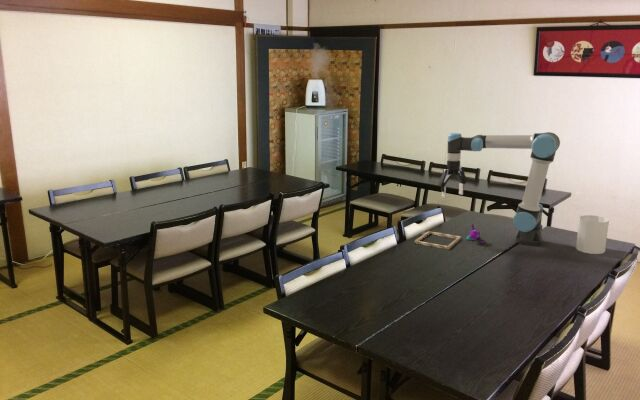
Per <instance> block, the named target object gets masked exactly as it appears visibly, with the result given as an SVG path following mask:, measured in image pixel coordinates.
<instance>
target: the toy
mask: <svg viewBox="0 0 640 400" xmlns="http://www.w3.org/2000/svg"><path fill="white" fill-rule="evenodd" d="M474 225H475V223H472V224H470V226H471V231H470V233H469V235H467V237H466V238H465V240H466V241H471V240H473V239H474V240H476V239H477V240H478V241H479V242H480V244H482V243H484V242H485V241H484V240H482V239H481V232H480V231H479V230H477V229H475V226H474Z"/></svg>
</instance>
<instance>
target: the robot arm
mask: <svg viewBox="0 0 640 400" xmlns="http://www.w3.org/2000/svg"><path fill="white" fill-rule="evenodd" d="M560 144H561V140H560V137H559V136H558V135H557V134H556V133H554V132H549V131H547V132H540V133H539V132H538V133H537V132H535V133H533V134H532V135H531V134H529V135H527V134H524V135H523V134H518V135H517V134H514V135H512V134H511V135H510V134H509V135H507V134H506V135H505V134H502V135H501V134H500V135H499V134H497V135H494V134H493V135H492V134H490V135H485V134H484V135H483V134H477V135H475V136H472V137H466V136H465V137H464V136H462V134H461V133H459V132H452V133H449V134H448V135H447V151H446V153H447V157H446V158H447V160H446V167H447V169H446V168H443V170H442V174H441V176H440V179H439V181H438V183H437V184H438V186H440V192H441V195H440V196H441V198H447V197H446V192H447V186H446V185H447V183H448V181H449V180H450V179H451V178H452V177H456V178H457V179H458V181H459V183H458V194H459V195H461V196H463V195H464V189H465V184H467V182H468V180H467V177H466V174H465V172H464V171H465V170H464V167H462V166H461V153H462V152H461V151H468V152H481V151H482V150H483V149H511V150H513V149H515V150H516V149H519V150H520V149H521V150H523V149H524V150H525V149H526V150H531V153H530V159H531V160H532V162H531V166H530V169H529V172H528V177H527V181H526V185H525V188H524V194H523V197H522V201H521V202H520V203H518V205H517V208H516V212H515V214H514V216H513V220H512V223H513V226H514V227H515V229H517V231H516V234H515V236H514V241H515V242H516V243H518V244H521V245H526V246H540V245H542V244H543V239H544V238H543V236H542V221H543V219H542V218H543V211H544V209H543V204H541V203H540V201H541V198H542V195H543V194H542V193H543V190H544V186H545V183H546V178H547V174H548V171H549V166H550V164H551V163H553V162H554V159H555V156H556V152H557V151H558V150H559V147H560Z"/></svg>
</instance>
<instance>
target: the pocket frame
mask: <svg viewBox="0 0 640 400" xmlns="http://www.w3.org/2000/svg"><path fill="white" fill-rule="evenodd" d="M430 234H432V235H431V236H436V235H437V236H436V237H444V238H448V239H449V238H450V239H454V240H453V241H451V243H449V244H447V245H444V244H437V243H433V242H432V243H431V242H426V241H422V240H424V239H425V238H426V237H428V236H430ZM419 235H421V236H419ZM427 235H428V236H427ZM418 236H419V237H417V238H416V239H415V240H414V241H413V243H416V244H417V245H420V244H421V246H425V247H426V246H428V247H431V246H432V248H438V249H444V250H450V249H452V248H453V246H455V245H456V244H457V243H458V242H460V241H461V240H462V235H461V236H460V235H454V234H448V233H443V232H435V231H429V230H428V231H427V232H426V231H421V232H419V234H418ZM423 238H424V239H423ZM420 240H421V241H420ZM416 244H415V245H416Z"/></svg>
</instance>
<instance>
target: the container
mask: <svg viewBox="0 0 640 400" xmlns="http://www.w3.org/2000/svg"><path fill="white" fill-rule="evenodd" d="M578 219H579V220H578V227H577V228H578V229H577V234H576V236H577V237H576V242H575V243H576V244H575V249H576V250H577V251H578V252H581V253H584V254H590V255H591V254H592V255H599V254H604V253H605V252H606V246H607V240H608V239H607V238H608V231H609V225H610V224H609V223H610V219H608V218H607V217H603V216H598V215H591V214H590V215H579V218H578Z"/></svg>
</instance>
